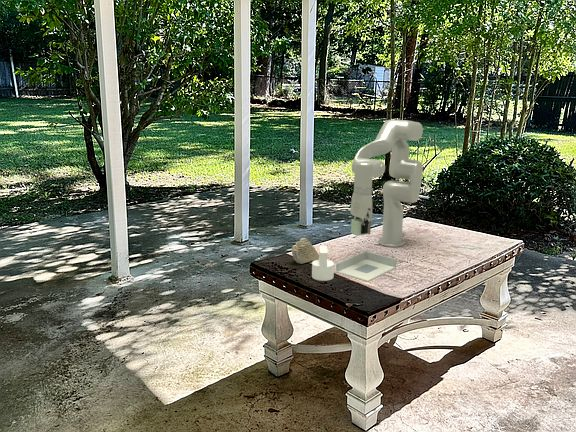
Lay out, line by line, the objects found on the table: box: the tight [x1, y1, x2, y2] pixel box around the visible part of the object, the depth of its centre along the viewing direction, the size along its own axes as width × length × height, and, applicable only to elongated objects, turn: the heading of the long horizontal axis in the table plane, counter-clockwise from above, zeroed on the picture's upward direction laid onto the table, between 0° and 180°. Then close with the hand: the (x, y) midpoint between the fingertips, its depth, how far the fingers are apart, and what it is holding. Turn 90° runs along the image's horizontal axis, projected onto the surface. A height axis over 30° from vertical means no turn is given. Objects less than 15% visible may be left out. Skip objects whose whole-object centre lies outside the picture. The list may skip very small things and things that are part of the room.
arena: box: [335, 250, 398, 283], centre depth 233 cm, size 22×16×4 cm
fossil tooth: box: [291, 237, 319, 264], centre depth 242 cm, size 12×6×15 cm
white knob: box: [311, 245, 335, 282], centre depth 224 cm, size 9×9×12 cm
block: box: [350, 218, 372, 237], centre depth 234 cm, size 5×7×6 cm, turn 118°
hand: (360, 231), depth 234 cm, fingers closed on block, 4 cm apart
